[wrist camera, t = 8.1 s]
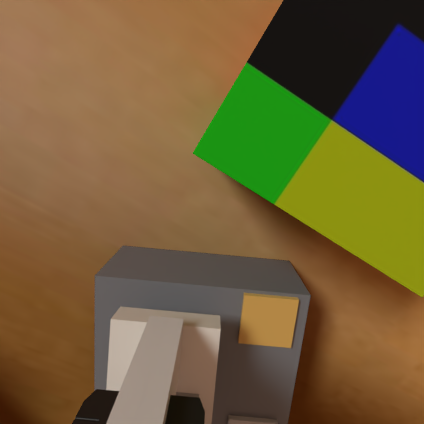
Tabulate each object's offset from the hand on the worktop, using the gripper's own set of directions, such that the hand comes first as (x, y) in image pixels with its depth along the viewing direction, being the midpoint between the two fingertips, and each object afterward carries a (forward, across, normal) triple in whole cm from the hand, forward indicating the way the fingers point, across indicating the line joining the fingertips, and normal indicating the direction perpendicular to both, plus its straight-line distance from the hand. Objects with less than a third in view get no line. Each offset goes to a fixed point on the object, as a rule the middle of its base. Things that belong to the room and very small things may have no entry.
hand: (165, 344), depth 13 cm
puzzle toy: (+9, +7, +11) cm, 16 cm away
